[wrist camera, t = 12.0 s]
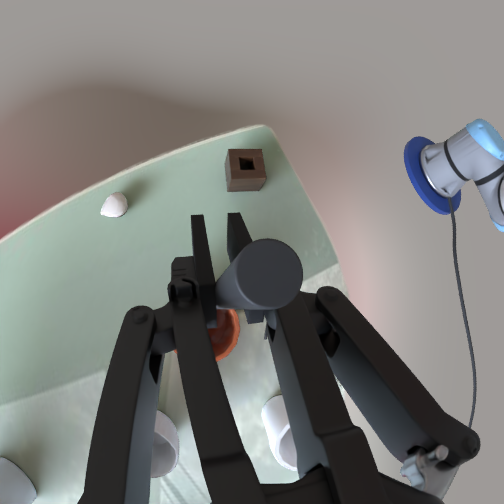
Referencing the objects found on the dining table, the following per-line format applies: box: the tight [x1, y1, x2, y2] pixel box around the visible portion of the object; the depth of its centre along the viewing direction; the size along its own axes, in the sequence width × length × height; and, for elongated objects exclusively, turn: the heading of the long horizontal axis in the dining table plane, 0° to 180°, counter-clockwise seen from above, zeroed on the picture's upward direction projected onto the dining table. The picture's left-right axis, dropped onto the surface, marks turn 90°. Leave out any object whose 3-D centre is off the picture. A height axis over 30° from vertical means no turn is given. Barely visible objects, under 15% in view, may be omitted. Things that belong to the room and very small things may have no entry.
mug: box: [150, 410, 179, 478], centre depth 30 cm, size 13×9×10 cm
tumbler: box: [174, 309, 240, 362], centre depth 36 cm, size 9×9×11 cm
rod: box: [215, 238, 303, 310], centre depth 15 cm, size 2×2×18 cm
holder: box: [225, 149, 266, 192], centre depth 45 cm, size 6×6×5 cm
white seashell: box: [100, 192, 128, 217], centre depth 40 cm, size 4×5×2 cm
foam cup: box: [262, 395, 297, 470], centre depth 34 cm, size 10×9×13 cm
